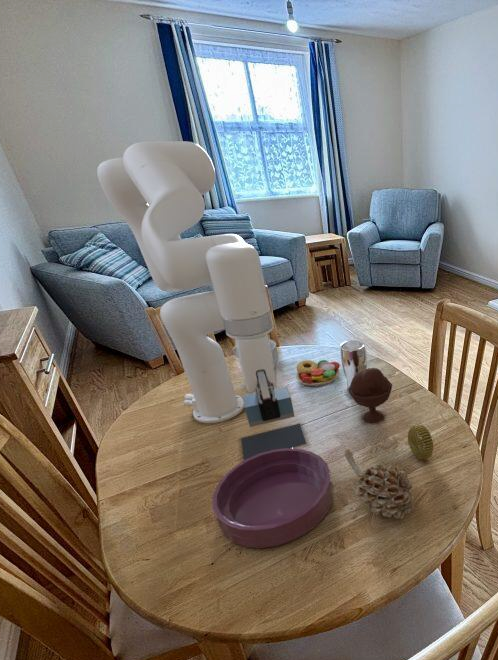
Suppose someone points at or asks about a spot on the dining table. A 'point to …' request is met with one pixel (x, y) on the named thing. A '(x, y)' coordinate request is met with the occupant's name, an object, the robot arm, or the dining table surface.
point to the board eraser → (254, 410)
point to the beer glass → (353, 359)
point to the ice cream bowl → (370, 392)
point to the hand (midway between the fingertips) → (269, 410)
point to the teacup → (273, 350)
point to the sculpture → (420, 441)
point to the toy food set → (317, 372)
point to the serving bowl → (273, 497)
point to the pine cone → (383, 489)
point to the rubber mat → (272, 440)
